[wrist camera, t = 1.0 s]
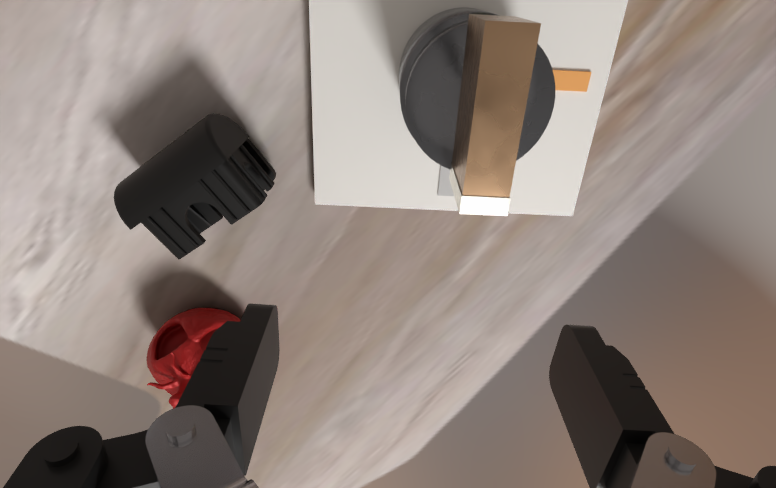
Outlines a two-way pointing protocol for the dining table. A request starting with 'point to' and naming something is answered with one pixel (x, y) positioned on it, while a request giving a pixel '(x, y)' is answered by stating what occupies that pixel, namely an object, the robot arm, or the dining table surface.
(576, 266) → the dining table surface
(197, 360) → the pomegranate
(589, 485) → the robot arm
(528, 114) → the lock lever handle
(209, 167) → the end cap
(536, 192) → the lock base
